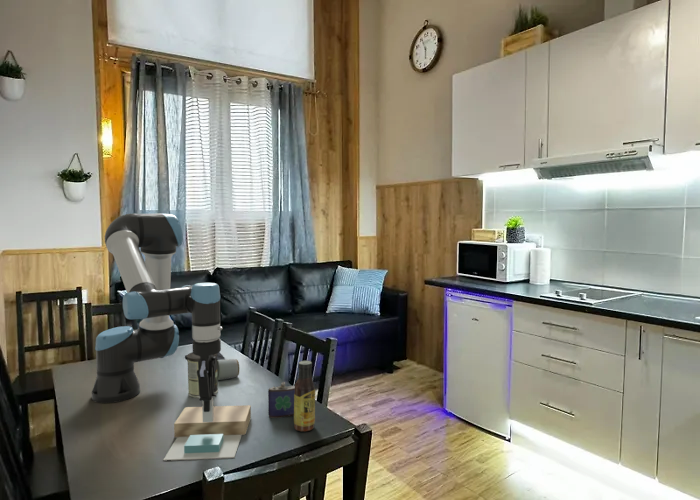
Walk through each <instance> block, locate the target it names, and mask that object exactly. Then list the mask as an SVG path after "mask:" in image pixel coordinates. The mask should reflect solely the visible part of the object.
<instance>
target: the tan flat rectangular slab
mask: <svg viewBox="0 0 700 500" xmlns="http://www.w3.org/2000/svg"><path fill="white" fill-rule="evenodd" d="M213 408H214V420H213V422H203V413H202V406H187V407H186V406H185V407H184V408H183V410H182V411H181V412H180V414H179V416H178V417H177V419H176V420H175V421H174V423H173V429H174V431H173V432H174V434H173V435H174V438H177V437H188V436H190V435H205V434H223V435H242V436H243V435H246V434H247V431H248V428H249V425H250V421H251V418H252V412H251V411H252V406H251V404H250V405H249V404H248V405H216V406H214V405H213Z"/></svg>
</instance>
